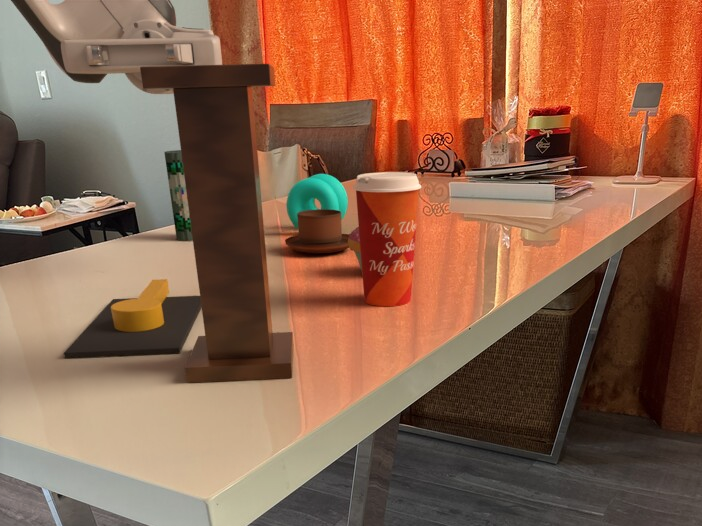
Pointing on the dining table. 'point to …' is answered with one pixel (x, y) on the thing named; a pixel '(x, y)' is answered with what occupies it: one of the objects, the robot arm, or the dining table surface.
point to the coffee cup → (387, 235)
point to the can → (178, 195)
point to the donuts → (316, 196)
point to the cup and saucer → (319, 232)
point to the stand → (226, 220)
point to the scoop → (142, 309)
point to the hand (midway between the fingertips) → (132, 53)
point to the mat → (160, 340)
